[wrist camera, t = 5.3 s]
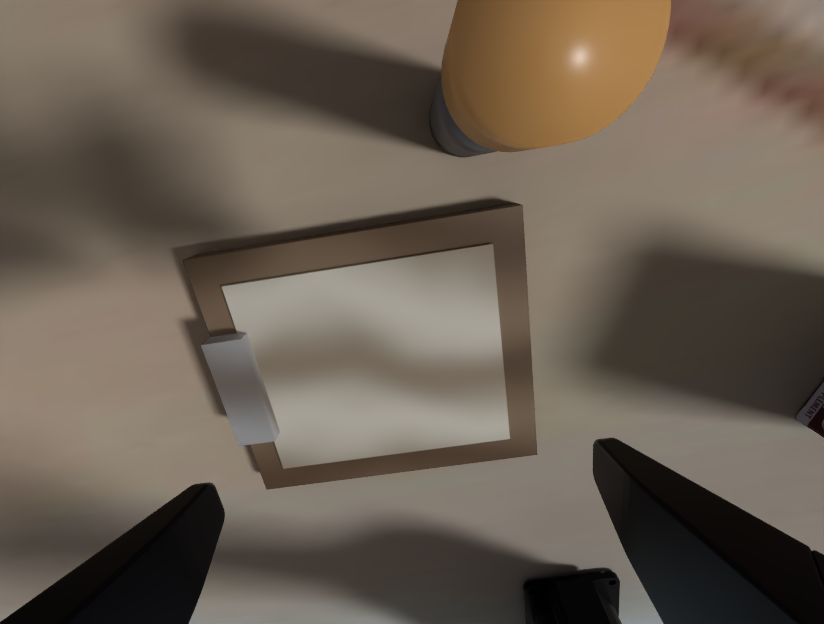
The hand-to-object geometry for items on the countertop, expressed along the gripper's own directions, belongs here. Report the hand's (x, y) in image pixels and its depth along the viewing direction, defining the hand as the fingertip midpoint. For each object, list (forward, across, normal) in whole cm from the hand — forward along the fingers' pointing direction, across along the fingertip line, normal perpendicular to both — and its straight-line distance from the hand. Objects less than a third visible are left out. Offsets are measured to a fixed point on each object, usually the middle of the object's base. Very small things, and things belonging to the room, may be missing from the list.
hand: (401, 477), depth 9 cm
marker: (+12, -4, -8) cm, 15 cm away
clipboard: (+13, +2, +3) cm, 13 cm away
